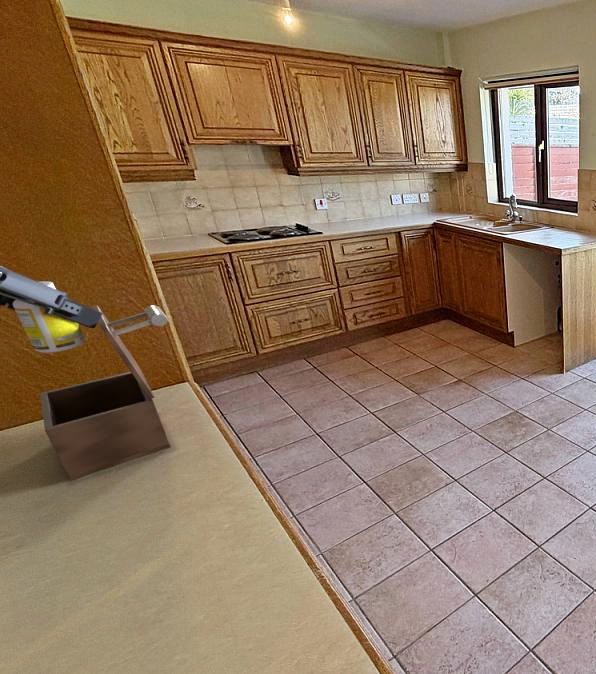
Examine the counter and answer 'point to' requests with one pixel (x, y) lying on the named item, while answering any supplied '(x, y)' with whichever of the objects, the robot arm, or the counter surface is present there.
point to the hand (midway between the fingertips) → (78, 318)
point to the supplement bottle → (48, 328)
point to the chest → (101, 424)
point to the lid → (154, 317)
